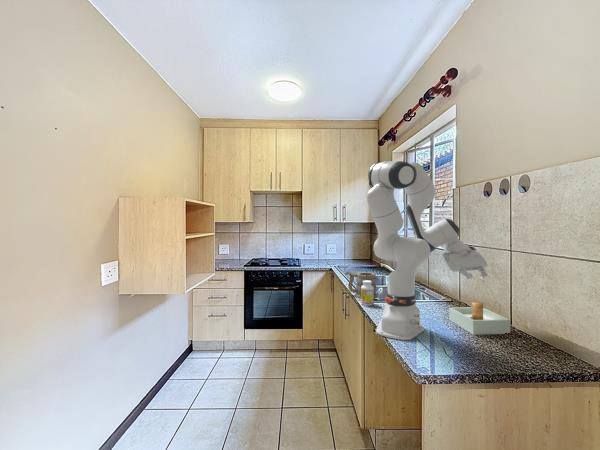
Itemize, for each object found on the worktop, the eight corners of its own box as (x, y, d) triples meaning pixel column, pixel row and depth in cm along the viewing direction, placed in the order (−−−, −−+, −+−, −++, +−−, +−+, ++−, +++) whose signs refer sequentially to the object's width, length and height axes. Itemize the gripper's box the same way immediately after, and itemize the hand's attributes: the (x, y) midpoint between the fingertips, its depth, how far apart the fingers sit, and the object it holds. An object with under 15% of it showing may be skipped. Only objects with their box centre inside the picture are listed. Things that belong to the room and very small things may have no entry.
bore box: (510, 333, 117) (510, 319, 117) (473, 334, 116) (473, 320, 116) (481, 318, 135) (481, 306, 135) (449, 319, 134) (449, 307, 134)
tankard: (380, 295, 180) (379, 271, 179) (373, 300, 169) (372, 274, 169) (349, 292, 191) (349, 269, 190) (341, 296, 180) (341, 272, 180)
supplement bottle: (359, 302, 165) (359, 280, 165) (371, 302, 165) (370, 279, 165) (363, 306, 158) (363, 282, 158) (375, 305, 159) (374, 282, 159)
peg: (483, 328, 123) (482, 304, 123) (472, 326, 125) (471, 303, 125) (483, 325, 126) (483, 302, 126) (472, 324, 128) (472, 301, 128)
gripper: (445, 248, 127) (465, 274, 118) (477, 247, 135) (499, 271, 126) (437, 257, 132) (456, 283, 122) (468, 256, 140) (488, 280, 130)
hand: (478, 277), depth 124 cm, fingers open, 8 cm apart
